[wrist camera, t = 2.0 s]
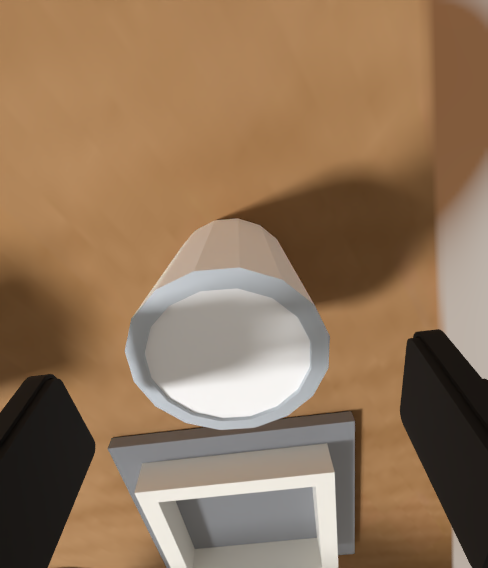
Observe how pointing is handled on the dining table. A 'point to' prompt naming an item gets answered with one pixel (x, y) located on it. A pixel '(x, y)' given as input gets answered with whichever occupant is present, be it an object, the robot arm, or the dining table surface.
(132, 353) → the white cup
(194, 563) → the holder tray
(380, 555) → the dining table surface
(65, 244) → the dining table surface
